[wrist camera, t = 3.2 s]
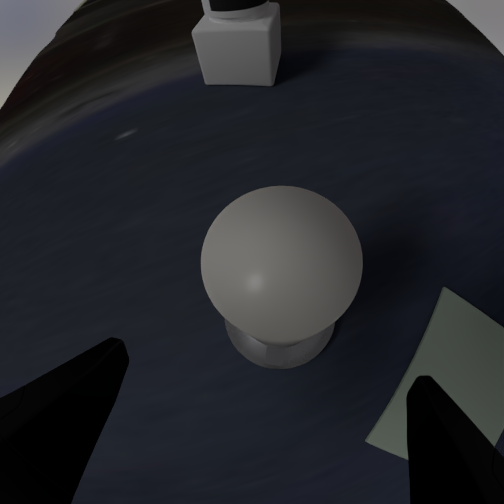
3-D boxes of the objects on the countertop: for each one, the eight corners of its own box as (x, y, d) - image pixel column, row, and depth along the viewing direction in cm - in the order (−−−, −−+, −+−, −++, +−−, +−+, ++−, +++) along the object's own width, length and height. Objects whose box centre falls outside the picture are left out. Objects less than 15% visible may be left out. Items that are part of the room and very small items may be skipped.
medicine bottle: (281, 53, 28) (277, -37, 17) (273, 88, 26) (266, -20, 15) (221, 52, 29) (204, -33, 18) (204, 86, 27) (178, -12, 16)
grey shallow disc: (328, 373, 17) (329, 374, 17) (218, 360, 18) (216, 360, 18) (337, 268, 19) (339, 265, 19) (234, 257, 20) (233, 254, 20)
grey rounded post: (309, 367, 17) (353, 385, 7) (238, 359, 17) (181, 364, 7) (319, 267, 19) (360, 167, 9) (252, 261, 20) (223, 155, 9)
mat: (471, 481, 12) (473, 481, 12) (364, 440, 15) (365, 441, 15) (530, 350, 15) (533, 350, 15) (442, 287, 18) (444, 286, 18)
